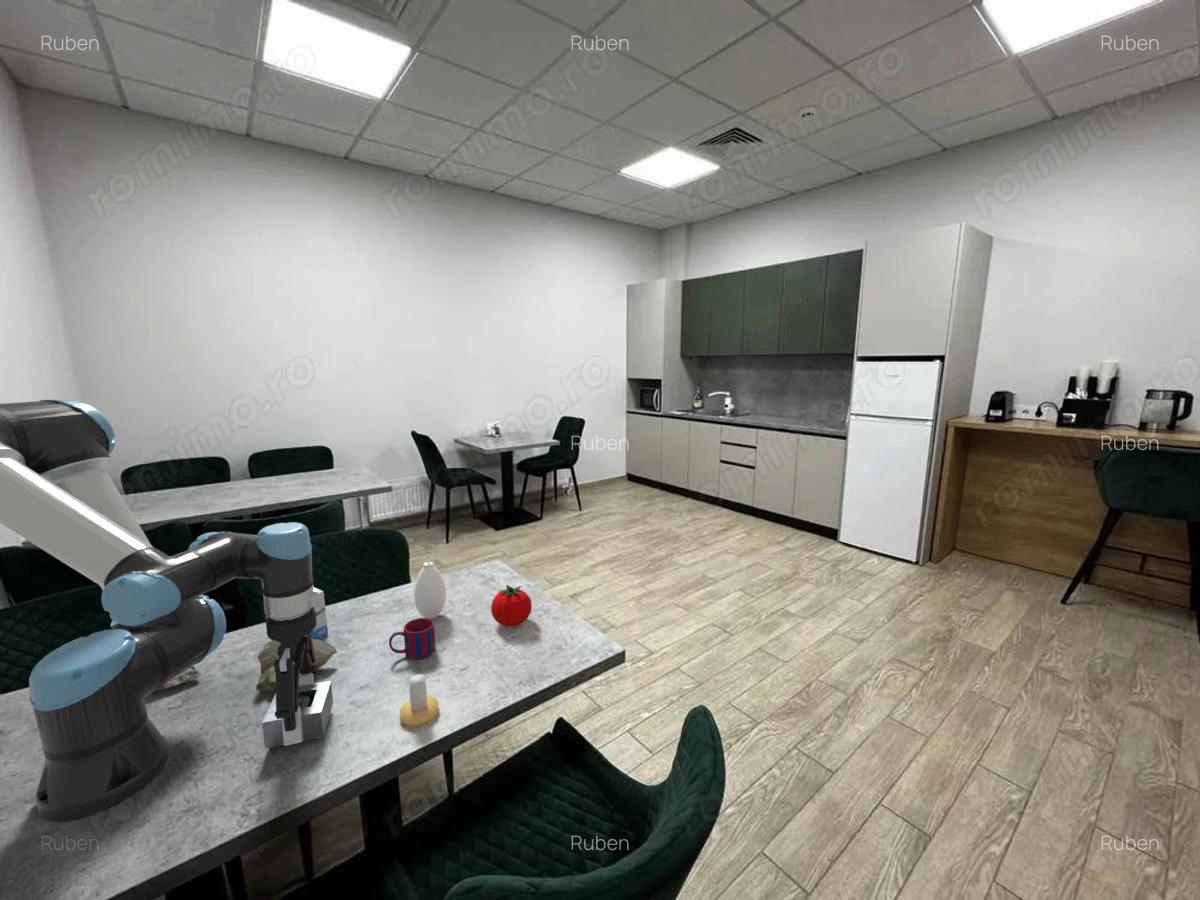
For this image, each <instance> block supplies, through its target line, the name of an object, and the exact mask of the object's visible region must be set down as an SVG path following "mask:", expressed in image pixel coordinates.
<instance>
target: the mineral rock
mask: <svg viewBox="0 0 1200 900" xmlns="http://www.w3.org/2000/svg"><path fill="white" fill-rule="evenodd" d="M200 676H201V672H200V671H199V670H196V668H195V666H194V665H193V666H191V667H190V668H188V669H187V670H185V671H184V672H182V673H181V674H179V675H178V676H176V677H175V678H173V679H172V680H170V681H169V682H167V683H166V684H164V685H163V686H161V687H160V688H158V689H156V690H155V691H153V692H152V693H154V692H155V693H157V692H160V691H162V690H164V689H166V690H167V689H169V688H171V687H175V686H178V685H181V684H184V683H188V682H190V681H196V680H197V679H198V678H199V677H200Z"/></svg>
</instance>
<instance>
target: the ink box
mask: <svg viewBox="0 0 1200 900" xmlns="http://www.w3.org/2000/svg"><path fill="white" fill-rule="evenodd" d="M313 590H317V591H318V594H317V595H315V596H314V599H315V604H314V606H315V608H316V620H317V624H316V627H315V628H314V630H313V631H311V637H312V639H317V640H319V639H321V638H323V637H326V636H327V635H329V630H328V621H327V611H326V604H325V603H326V601H325V593H324V591H323V590H321V589H319V588H317V587H313Z"/></svg>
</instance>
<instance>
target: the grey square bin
mask: <svg viewBox="0 0 1200 900" xmlns="http://www.w3.org/2000/svg"><path fill="white" fill-rule="evenodd" d="M332 687H333V686H332V680H327V681H322V682H320V681H319V682H315V683H314V684H308V685H302V686H299V691H298V698H299V697H302V696H309V697H310V705H311V707H307V708H301V709H300V712H301V724H302V735H303V740H302V742H303V741H308V740H314V739H318V738H319V739H321V738H324V737H325V733H326V729H327V725H328V722H329V719H330V715H331V712H332V708H333V705H334V698H333V688H332ZM275 712H276V693H275V694H274V696H273V699H272V701H271V703H270V704H269V707H268V709H267V712H266V713H265V716H264V718H263V720H262V722H261V724H262V733H263V740H264V741H263V742H264V743H263V744H264V749H269V748H273V747H277V746H284V739H283V729H282V718H280V719H277V718H276V716H275Z"/></svg>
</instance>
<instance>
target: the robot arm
mask: <svg viewBox="0 0 1200 900" xmlns="http://www.w3.org/2000/svg"><path fill="white" fill-rule="evenodd" d="M114 438H116V433H115V431H114V428H113V426H112V424H111V422H110V420H109V419H108V418H107V417H106V416H105V415H104V414H103V413H102V412H101V411H100V410H98V409H96V408H95V407H94V406H91V405H90V404H88V403H84V402H81V401H78V400H72V399H70V400H69V399H67V400H58V399H42V400H41V399H40V400H39V401H23V402H22V401H21V402H20V401H19V402H7V403H6V402H5V403H0V524H1V525H2V526H4V527H6V528H7V529H9V530H11V531H12V532H14V533H15V534H17V535H19V536H20V537H22V538H23V539H25V540H27V541H28V542H29V543H31V544H33V545H35V546H36V547H38V548H40V549H41V550H42V551H44V552H46V553H47V554H48V555H51V556H52V557H53V558H55V559H57V560H59V561H60V562H62V563H63V564H65V565H66V566H67V567H70V568H71V569H73V570H74V571H76V572H78V573H79V574H80V575H83V576H84V577H86V578H87V579H89V580H91V581H92V582H94V583H95V584H97V585H99V587H100V588H101V590H102V593H101V604H102V605H101V606H102V608H103V610H104V611H105V612H108V613H109V618H110V619H111V620H112V621H111V623H110V627H111V629H105V630H101V631H97V632H93V633H91V634H90V635H87V636H80V637H77V638H76V639H73V640H71V641H69V642H66V643H65V644H63V645H61V646H59V647H58V648H56V649H54V650H52V651H51V652H50V653H48V654H47V655H45V656H44V657H43V658H42V659H41V660H40V661H39V662H38V663H37V664H36V665H35V666H34V668H33V669H32V671H31V672H30V673H31V674H30V675H29V676H30V677H29V679H28V684H29V699H28V700H29V702H30V705H31V706H32V709H33V712H34V716H35V721H36V724H37V728H38V733H39V736H40V737H39V738H40V742H41V747H42V751H43V754H44V755H43V756H44V763H43V766H42V771H41V774H40V778H39V783H38V784H37V785H38V786H37V789H36V793H35V804H36V809H37V812H38V814H39V816H40V817H41V818H43V819H44V820H47V821H52V822H61V821H60V820H65V821H70V820H69V819H72V820H75V819H74V818H77V819H80V817H81V818H84V817H87V816H91V815H93V814H96V813H99V812H101V811H103V810H106V809H108V808H110V806H111V807H113V806H115V805H117V804H119V803H120V802H123V801H124V800H126V799H127V798H129V797H131V796H133V795H134V794H136V793H137V792H138V790H139V791H140V790H142V789H143V788H144V787H145V786H147V785H148V784H149V783H151V780H152V779H153V778H154V779H155V778H156V777H157V776H158V775H159V774H160V773H161V772H162V771H163V769H164V767H165V766H166V765H167V763H168V760H169V756H170V753H169V747H168V743H167V740H166V738H165V737H164V736H163V735H162V734H161V732H160V730H159V729H158V728H157V727H156V726H155V724H154V723H153V722H152V720H151V719H149V716H148V712H147V711H148V710H147V706H146V701H145V699H146V698H147V697H148V696H149V695H150V694H152V693H154V692H153V691H155V690H156V689H158V688H160V687H161V686H163V685H164V684H166V683H167V682H169V681H170V680H172V679H173V678H175V677H176V676H178V675H179V674H181V673H182V672H184V671H185V670H187V669H188V668H190V667H191V666H193V667H194V666H195V665H197V664H199V663H201V662H202V661H203V660H205V659H206V657H207V656H209V655H210V654H211V653H213V652H214V651H216V650H217V648H218V647H219V646H220V645H221V644H222V642H223V640H224V635H225V634H226V631H227V619H226V616H225V612H224V611H223V608H222V606H220V604H219V603H218V602H217V601H216V600H215V599H214V598H211V599H210V596H208V595H204V594H207V593H209V592H212V591H213V590H215V589H217V588H219V587H221V586H223V585H225V584H226V583H228V582H230V581H232V580H235V579H247V580H248V579H249V580H261V585H262V586H261V587H262V597H263V612H264V615H265V627H266V635H267V637H268V639H270V641H272V640H274V641H278V642H280V643H281V646H279V647H278V656H279V660H275V662H274V667H275V674H276V689H275V694H276V712H275V716H276V718H277V719H280V718H282V729H283V739H284V745H283V746H284V747H285V746H289V745H295V744H300V743H303V741H302V740H303V735H302V724H301V712H300V707H298V691H299V686H302V685H308V684H314V673H313V672H317V671H318V669H319V668H318V666H317V665H313V664H312V663H315V655H314V649H313V643H312V637H311V631H313V630H314V628H315V627H316V624H317V620H316V608H315V606H314V604H315V599H314V596H315V595H317V594H318V591H317V590H313V587H314V578H313V561H312V560H313V558H312V557H313V556H312V555H313V554H312V552H313V551H312V550H313V548H312V547H313V546H312V543H311V538H310V537H311V536H310V531H309V529H308V527H307V526H306V525H305V524H303V523H301V522H295V521H294V522H290V521H289V522H286V523H285V522H279V523H274V524H271V525H266V526H264V527H262V528H261V529H260V530H259V531H258V533H257V534H249V533H241V532H240V533H238V532H232V531H218V532H217V531H211V532H206V533H203V534H201V535H199V536H197V538H196V539H195V540H194V541H193V542H191V543H190V545H189V547H188V549H187V550H185V551H181V552H179V553H176V554H173V555H171V556H170V555H168V554H166V553H165V552H163V551H161V550H159V549H158V548H156V547H154V546H153V545H152V544H151V542H150V540H149V539H148V537H147V536H146V534H145V533H144V530H143V529H142V528H141V526H140V524H139V522H138V521H137V519H136V517H135V516H134V514H133V513H132V511H131V510H130V508H129V506H128V504H126V502H125V499H124V497H123V496H122V494H121V493H120V492H119V491H120V490H118V488H117V487H116V485H115V483H114V482H113V479H112V478H111V476H110V475H109V474H108V470H109V467H110V466H111V464H112V462H113V459H112V457H111V456H110V455H111V454H112V452H113V451H114V449H115V446H116V440H114ZM294 664H295V665H294ZM300 673H301V675H299V674H300ZM156 775H157V776H156ZM154 779H153V780H154ZM153 780H152V781H153ZM148 782H149V783H148ZM147 783H148V784H147ZM146 784H147V785H146ZM142 787H143V788H142ZM135 792H136V793H135Z"/></svg>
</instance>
